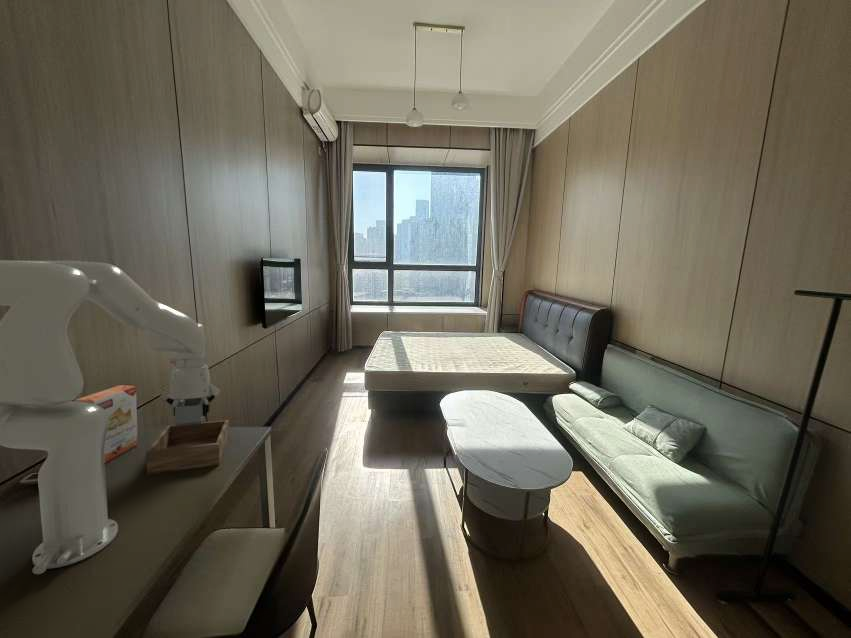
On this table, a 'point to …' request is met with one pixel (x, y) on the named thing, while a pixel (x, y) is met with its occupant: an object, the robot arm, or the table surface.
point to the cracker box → (117, 418)
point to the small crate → (189, 412)
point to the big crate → (188, 447)
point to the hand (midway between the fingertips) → (192, 415)
